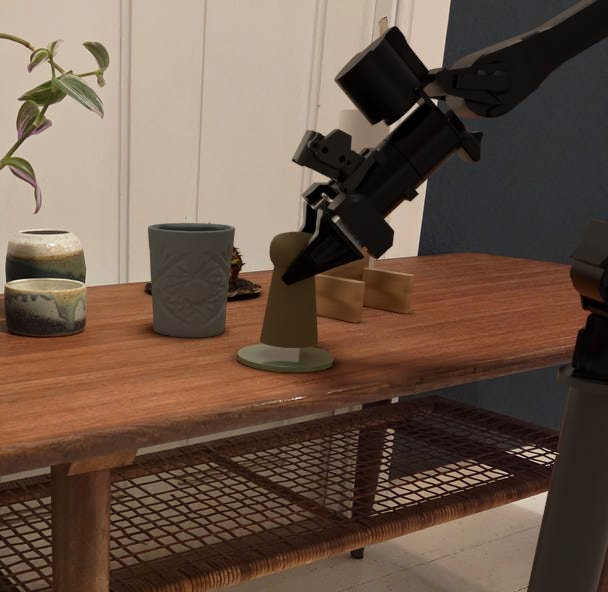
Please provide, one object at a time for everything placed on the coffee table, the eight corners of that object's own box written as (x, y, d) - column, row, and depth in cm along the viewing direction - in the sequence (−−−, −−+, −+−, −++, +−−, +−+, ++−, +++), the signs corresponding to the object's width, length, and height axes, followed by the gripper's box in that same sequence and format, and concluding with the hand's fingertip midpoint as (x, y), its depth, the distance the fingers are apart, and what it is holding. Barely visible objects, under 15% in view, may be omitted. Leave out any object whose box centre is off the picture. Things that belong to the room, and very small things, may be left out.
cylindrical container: (313, 287, 134) (329, 109, 125) (354, 285, 136) (373, 110, 127) (337, 295, 128) (356, 109, 119) (380, 293, 130) (402, 110, 121)
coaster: (348, 358, 94) (349, 353, 93) (307, 378, 86) (308, 372, 86) (264, 344, 99) (265, 339, 99) (219, 361, 92) (219, 356, 91)
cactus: (136, 298, 124) (137, 226, 120) (153, 280, 138) (154, 215, 135) (259, 304, 121) (264, 231, 117) (263, 285, 136) (268, 219, 132)
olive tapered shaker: (264, 348, 89) (271, 236, 85) (255, 334, 95) (261, 229, 90) (323, 348, 89) (333, 236, 85) (311, 334, 95) (320, 229, 91)
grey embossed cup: (199, 343, 99) (204, 233, 95) (128, 330, 105) (129, 226, 100) (245, 328, 107) (251, 225, 102) (176, 317, 112) (179, 219, 108)
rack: (410, 312, 117) (420, 235, 113) (355, 323, 111) (364, 241, 107) (357, 302, 123) (365, 228, 120) (302, 311, 117) (309, 233, 113)
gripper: (329, 100, 92) (219, 210, 96) (371, 95, 74) (234, 229, 79) (396, 180, 95) (286, 283, 99) (452, 193, 77) (315, 318, 82)
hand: (279, 277), depth 89 cm, fingers closed on olive tapered shaker, 5 cm apart
